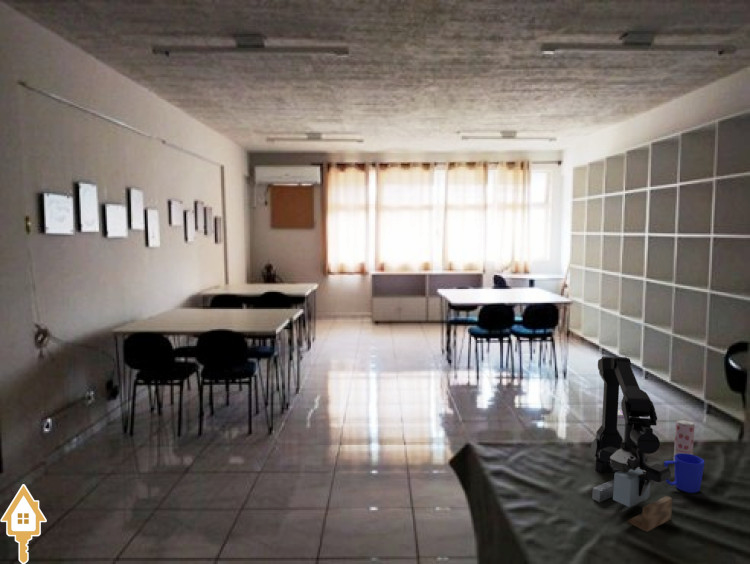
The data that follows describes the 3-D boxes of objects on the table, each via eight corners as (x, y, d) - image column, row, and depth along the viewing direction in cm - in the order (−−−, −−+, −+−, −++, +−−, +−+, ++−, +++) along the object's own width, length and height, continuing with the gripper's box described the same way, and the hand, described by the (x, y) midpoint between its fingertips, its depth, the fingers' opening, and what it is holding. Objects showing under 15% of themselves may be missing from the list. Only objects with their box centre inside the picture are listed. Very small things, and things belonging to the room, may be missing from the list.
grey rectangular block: (612, 490, 169) (612, 479, 169) (619, 493, 167) (620, 482, 167) (592, 499, 164) (592, 487, 163) (599, 502, 162) (600, 491, 161)
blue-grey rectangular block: (633, 490, 163) (634, 464, 163) (649, 497, 159) (651, 471, 158) (612, 499, 158) (614, 472, 157) (629, 507, 154) (630, 479, 153)
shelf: (584, 480, 178) (585, 462, 178) (670, 519, 155) (672, 498, 155) (560, 490, 172) (561, 470, 171) (646, 531, 149) (648, 509, 148)
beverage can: (685, 468, 189) (688, 425, 187) (669, 462, 194) (672, 420, 192) (695, 464, 192) (698, 423, 190) (679, 458, 197) (682, 418, 195)
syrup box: (632, 454, 200) (634, 415, 199) (614, 453, 201) (617, 414, 200) (628, 448, 206) (630, 410, 204) (611, 446, 207) (613, 409, 205)
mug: (655, 483, 177) (657, 453, 176) (691, 482, 178) (693, 452, 177) (671, 496, 169) (673, 464, 168) (708, 495, 170) (710, 463, 169)
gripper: (588, 434, 160) (586, 486, 162) (651, 457, 145) (647, 514, 146) (611, 427, 166) (608, 476, 168) (673, 448, 151) (669, 502, 152)
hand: (631, 491), depth 158 cm, fingers closed on blue-grey rectangular block, 5 cm apart
